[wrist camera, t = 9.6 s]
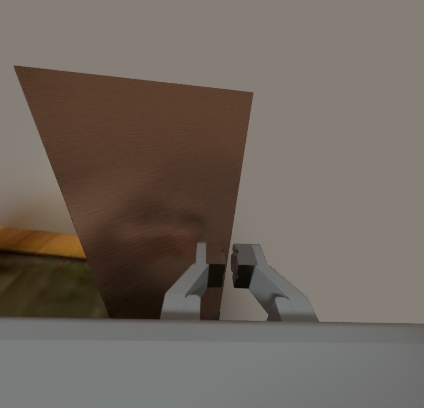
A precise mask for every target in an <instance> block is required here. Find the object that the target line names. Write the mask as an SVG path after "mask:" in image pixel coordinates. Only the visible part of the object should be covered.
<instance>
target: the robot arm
mask: <svg viewBox="0 0 424 408" xmlns="http://www.w3.org/2000/svg"><path fill="white" fill-rule="evenodd" d="M223 252H224V244H223V243H210V242H197V251H196V264H192V265H191V266H190V267H189V268H188V270H187V271H186V272H185V273H184V274H183V275H182V276H181V277H180V278H179V279H178V280H177V282H176V283H175V284H174V285H173V286H172V287H171V288H170V289H169V290H168V291H167V292H166V293H165V298H164V302H163V307H162V312H161V316H160V319H109V318H50V317H0V408H424V324H411V323H352V322H351V323H350V322H319V321H318V319H317V317H316V314H315V312H314V310H313V308H312V306H311V304H310V302H309V301H308V298H307V297H306V296H305V295H304V294H303V293H301V292H300V291H299V290H298V289H297V288H296V287H294V286H293V285H292V284H291V283H290V282H289V281H287V280H286V279H285V278H284V277H283V276H281V275H280V274H279V273H278V272H277V271H276V270H275V269H273V268H272V267H271V266H268V265H267V262H266V259H265V256H264V254H263V251H262V248H261V246H260V245H259V244H234V245H233V254H232V255H231V270H232V272H233V277H232V278H233V285H234V288H247V289H249V290H250V291H251V292H252V294H253V295H254V296H255V298H256V299H257V300H258V302H259V303H260V304H261V306H262V307H263V308H264V309H265V311H266V312H267V313H268V315H269V316H268V319H267V321H228V320H227V321H226V320H225V321H224V320H200V299H201V297H202V296H203V294H204V292H205V291H206V289H207V287H222V285H223V274H224V272H225V265H226V263H225V254H224V253H223Z"/></svg>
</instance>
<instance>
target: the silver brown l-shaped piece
mask: <svg viewBox="0 0 424 408" xmlns="http://www.w3.org/2000/svg"><path fill="white" fill-rule="evenodd" d="M14 69H15V72H16V74H17V77H18V79H19V82H20V85H21V87H22V90H23V92H24V95H25V98H26V101H27V103H28V106H29V108H30V111H31V114H32V116H33V119H34V121H35V124H36V127H37V129H38V132H39V134H40V137H41V140H42V143H43V145H44V147H45V150H46V153H47V156H48V158H49V161H50V163H51V166H52V169H53V171H54V174H55V177H56V179H57V182H58V184H59V187H60V189H61V192H62V195H63V198H64V200H65V203H66V205H67V208H68V211H69V213H70V216H71V219H72V221H73V224H74V227H75V229H76V232H77V234H78V237H79V240H80V242H81V245H82V248H83V250H84V253H85V255H86V258H87V261H88V263H89V266H90V269H91V271H92V274H93V276H94V279H95V282H96V284H97V287H98V290H99V292H100V295H101V297H102V300H103V303H104V305H105V308H106V311H107V313H108V316H109V318H110V319H160V316H161V312H162V307H163V302H164V298H165V293H166V292H167V291H168V290H169V289H170V288H171V287H172V286H173V285H174V284H175V283H176V282H177V280H178V279H179V278H180V277H181V276H182V275H183V274H184V273H185V272H186V271H187V270H188V268H189V267H190V266H191V265H192V264H196V251H197V242H210V243H223V244H224V252H223V253H224V254H225V263H226V265H225V272H226V266H227V259H228V253H229V247H230V240H231V234H232V227H233V221H234V214H235V208H236V201H237V195H238V188H239V182H240V176H241V169H242V162H243V156H244V149H245V143H246V137H247V130H248V123H249V117H250V111H251V104H252V98H253V92H244V91H236V90H227V89H218V88H209V87H201V86H192V85H183V84H174V83H164V82H156V81H147V80H138V79H129V78H121V77H111V76H103V75H93V74H85V73H76V72H67V71H58V70H49V69H41V68H31V67H22V66H14ZM225 272H224V274H223V285H224V279H225ZM223 285H222V287H207V289H206V291H205V292H204V294H203V296H202V297H201V299H200V320H219V317H220V312H219V311H220V305H221V298H222V291H223Z"/></svg>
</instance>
